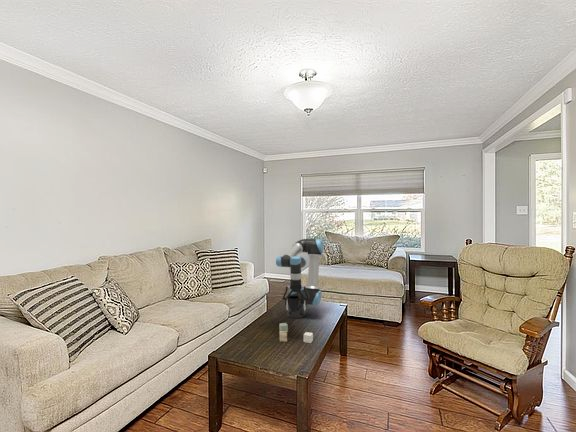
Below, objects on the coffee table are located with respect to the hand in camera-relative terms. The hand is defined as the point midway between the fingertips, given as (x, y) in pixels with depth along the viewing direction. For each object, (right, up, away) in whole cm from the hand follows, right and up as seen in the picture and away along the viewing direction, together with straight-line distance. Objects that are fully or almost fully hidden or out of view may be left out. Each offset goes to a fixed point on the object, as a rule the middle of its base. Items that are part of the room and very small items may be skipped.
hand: (296, 309), depth 210 cm
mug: (0, -1, 0) cm, 1 cm away
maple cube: (-9, -18, -7) cm, 22 cm away
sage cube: (-9, -18, +8) cm, 22 cm away
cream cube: (+8, -18, -9) cm, 22 cm away
